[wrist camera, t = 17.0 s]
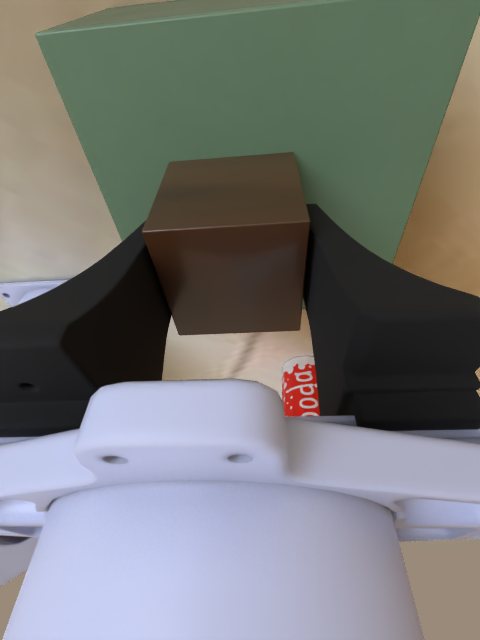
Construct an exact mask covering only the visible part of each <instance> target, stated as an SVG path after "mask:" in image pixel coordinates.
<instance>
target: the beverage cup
mask: <svg viewBox="0 0 480 640" xmlns="http://www.w3.org/2000/svg"><path fill="white" fill-rule="evenodd" d="M282 401H283V404H284V416H285V417H300V416H320V411H319V400H318V390H317V380H316V371H315V362H314V357H311V356H302V357H296V358H293V359H290V360H289V361H287V362H286V363H285V364H284V365H283V367H282Z"/></svg>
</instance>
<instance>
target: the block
mask: <svg viewBox="0 0 480 640" xmlns="http://www.w3.org/2000/svg"><path fill="white" fill-rule="evenodd" d="M309 230H310V218H309V214H308V210H307V206H306V202H305V197H304V193H303V189H302V185H301V181H300V177H299V173H298V169H297V164H296V160H295V156H294V152H287V153H274V154H261V155H249V156H236V157H223V158H211V159H198V160H185V161H173V162H169V163H168V165H167V168H166V171H165V173H164V176H163V178H162V181H161V184H160V186H159V189H158V191H157V194H156V196H155V199H154V202H153V204H152V207H151V209H150V212H149V214H148V217H147V220H146V222H145V225H144V227H143V230H142V234H143V236H144V239H145V242H146V245H147V248H148V250H149V253H150V256H151V259H152V261H153V264H154V267H155V270H156V273H157V275H158V278H159V281H160V284H161V286H162V289H163V292H164V295H165V298H166V300H167V303H168V306H169V309H170V311H171V314H172V317H173V320H174V323H175V325H176V328H177V331H178V334H179V335H200V334H226V333H251V332H276V331H299V330H300V324H301V314H302V303H303V293H304V283H305V272H306V262H307V251H308V241H309Z"/></svg>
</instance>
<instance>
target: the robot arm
mask: <svg viewBox="0 0 480 640" xmlns="http://www.w3.org/2000/svg"><path fill="white" fill-rule="evenodd" d="M306 206H307V210H308V214H309V218H310V230H309V241H308V251H307V262H306V272H305V283H304V293H303V299H304V303H305V307H306V311H307V316H308V320H309V325H310V330H311V337H312V345H313V353H314V362H315V371H316V380H317V390H318V400H319V411H320V416H300V417H285V416H284V404H283V401H282V400H281V398H280V396H279V394H278V392H277V391H275V390H274V389H272V388H270V387H268V386H266V385H263V384H261V383H259V382H257V381H250V380H241V379H202V380H167V381H162V373H163V363H164V354H165V346H166V338H167V332H168V327H169V323H170V319H171V315H172V314H171V311H170V309H169V306H168V303H167V300H166V298H165V295H164V292H163V289H162V286H161V284H160V281H159V278H158V275H157V273H156V270H155V267H154V264H153V261H152V259H151V256H150V253H149V250H148V248H147V245H146V242H145V239H144V236H143V234H142V230H143V227H144V225H145V222H146V221H144V222H143V223H142V224H141V225H140V226H139V227H138V228H137V229H136V230H135V231H134V232H133V233H131V234H130V235H129V236H128V237H127V238H126V239H125V240H124V241H123V242H122V243H120V244H119V245H118V246H117V247H115V248H114V249H113V250H112V251H111V252H109V253H108V254H107V255H106V256H105V257H103V258H102V259H101V260H99V261H98V262H97V263H95V264H94V265H92V266H91V267H89V268H88V269H86V270H85V271H83V272H82V273H80V274H79V275H77V276H75V277H73V278H72V279H70V280H53V281H34V282H15V283H0V295H1V296H2V297H3V299H4V300H5V301H6V302H7V303H8V304H9V305H10V306H11V308H8V309H5V310H3V311H0V587H1V586H3V585H4V584H6V583H8V582H9V581H11V580H13V579H14V578H16V577H17V576H19V575H20V574H22V573H24V572H25V571H27V573H26V576H25V578H24V581H23V584H22V587H21V589H20V592H19V595H18V598H17V601H16V603H15V606H14V609H13V612H12V614H11V617H10V620H9V623H8V626H7V628H6V631H5V634H4V637H3V640H424V636H423V632H422V629H421V625H420V621H419V617H418V613H417V609H416V606H415V602H414V598H413V594H412V590H411V587H410V583H409V579H408V575H407V571H406V567H405V563H404V559H403V556H402V552H401V548H400V544H399V542H405V541H433V540H461V539H480V397H479V395H478V393H477V391H476V390H478V389H479V388H480V381H479V379H478V377H477V376H476V374H475V371H476V370H477V369H478V368H479V367H480V298H479V297H478V296H475V295H472V294H468V293H465V292H462V291H458V290H455V289H452V288H449V287H445V286H442V285H439V284H437V283H434V282H432V281H429V280H426V279H424V278H421V277H419V276H416V275H414V274H412V273H409V272H407V271H405V270H403V269H401V268H399V267H397V266H395V265H393V264H391V263H389V262H387V261H386V260H384V259H382V258H381V257H379V256H377V255H376V254H374V253H373V252H371V251H369V250H368V249H366V248H365V247H364V246H362V245H361V244H359V243H358V242H357V241H356V240H354V239H353V238H352V237H350V236H349V235H348V234H347V233H346V232H345V231H343V230H342V229H341V228H340V227H339V226H338V225H337V224H336V223H335V222H334V221H333V220H332V219H331V218H330V217H329V216H328V215H327V214H326V213H325V212H324V211H323V210H322V209H321V208H320V207H319V206H318V205H317V204H316V203H315V204H306Z"/></svg>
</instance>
